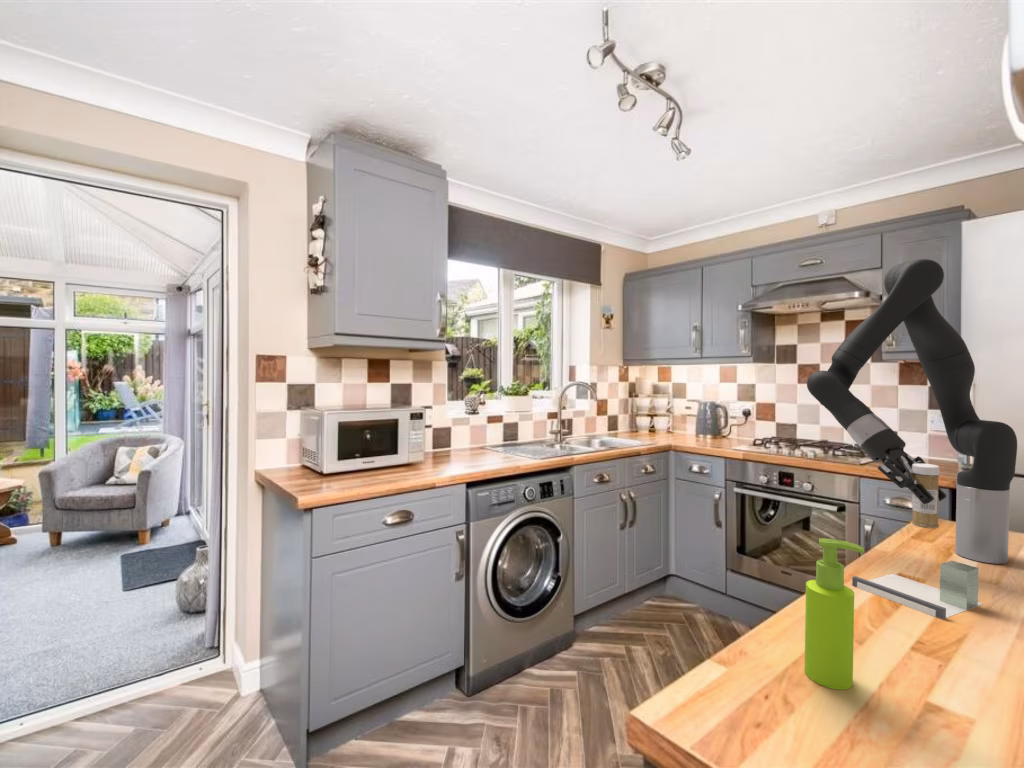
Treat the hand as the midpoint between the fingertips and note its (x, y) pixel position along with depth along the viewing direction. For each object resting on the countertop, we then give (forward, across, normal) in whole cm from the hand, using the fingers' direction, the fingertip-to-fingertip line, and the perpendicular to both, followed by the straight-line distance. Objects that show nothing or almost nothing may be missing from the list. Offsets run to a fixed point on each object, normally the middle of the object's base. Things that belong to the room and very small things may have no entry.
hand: (935, 500), depth 104 cm
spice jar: (+3, 0, +6) cm, 7 cm away
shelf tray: (+15, -15, +10) cm, 23 cm away
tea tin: (+18, -12, +5) cm, 22 cm away
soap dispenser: (+21, -54, +3) cm, 58 cm away
